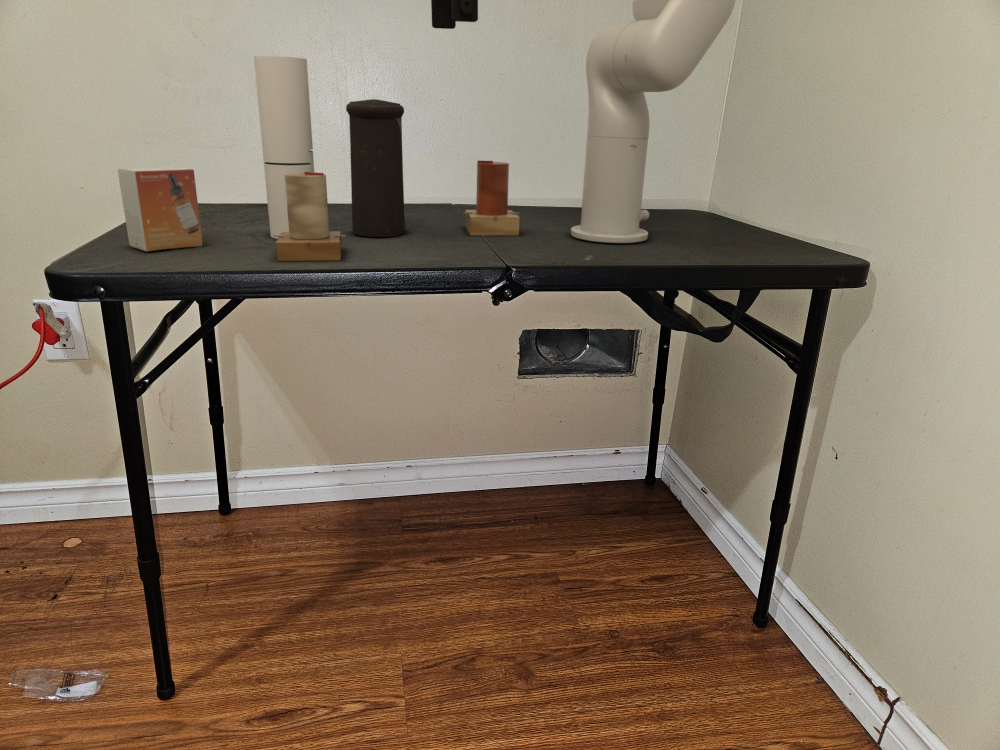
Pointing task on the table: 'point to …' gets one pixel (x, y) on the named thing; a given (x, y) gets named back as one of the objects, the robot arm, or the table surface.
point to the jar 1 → (307, 205)
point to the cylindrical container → (283, 129)
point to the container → (376, 168)
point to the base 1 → (309, 248)
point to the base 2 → (492, 224)
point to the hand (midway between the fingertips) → (453, 25)
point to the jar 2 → (492, 188)
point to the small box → (160, 207)
